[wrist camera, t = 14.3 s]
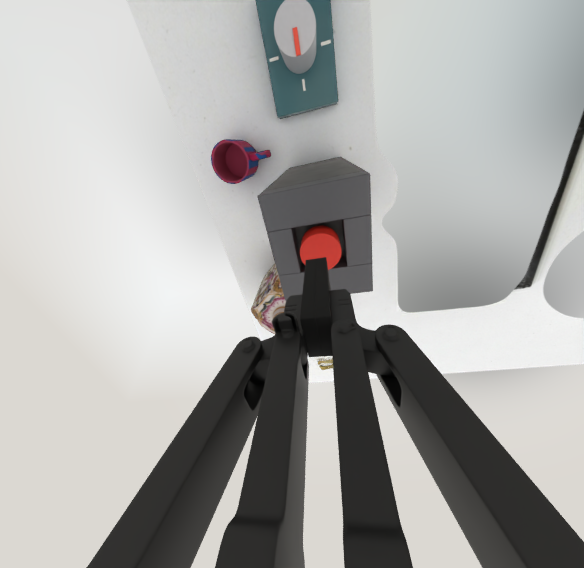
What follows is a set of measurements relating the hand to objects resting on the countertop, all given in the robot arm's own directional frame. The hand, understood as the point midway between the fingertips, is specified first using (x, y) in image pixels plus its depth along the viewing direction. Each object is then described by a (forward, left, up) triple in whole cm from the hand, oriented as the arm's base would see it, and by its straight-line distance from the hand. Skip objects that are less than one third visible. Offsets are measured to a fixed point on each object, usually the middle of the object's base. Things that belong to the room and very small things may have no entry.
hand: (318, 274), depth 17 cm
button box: (+1, 0, -35) cm, 35 cm away
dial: (-20, 0, -32) cm, 38 cm away
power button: (+1, 0, -8) cm, 8 cm away
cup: (-8, -12, -35) cm, 38 cm away
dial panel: (-20, 0, -35) cm, 40 cm away
